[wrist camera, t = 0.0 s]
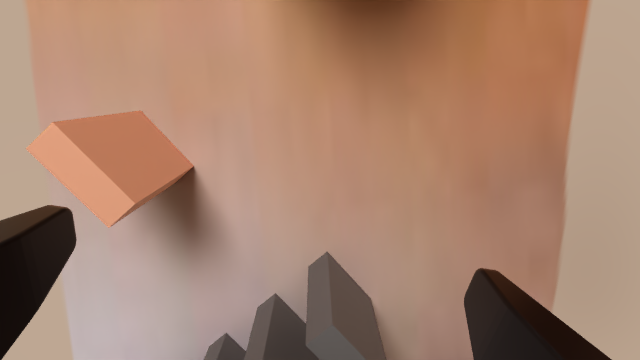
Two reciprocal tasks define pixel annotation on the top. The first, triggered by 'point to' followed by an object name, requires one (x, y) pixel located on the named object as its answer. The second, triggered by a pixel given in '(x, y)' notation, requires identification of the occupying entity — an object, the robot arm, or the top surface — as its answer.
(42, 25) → the top surface
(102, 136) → the terracotta domino
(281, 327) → the grey rectangular block
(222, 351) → the grey domino
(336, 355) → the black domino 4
